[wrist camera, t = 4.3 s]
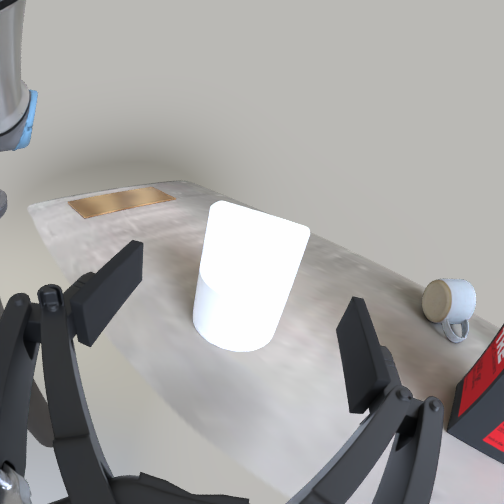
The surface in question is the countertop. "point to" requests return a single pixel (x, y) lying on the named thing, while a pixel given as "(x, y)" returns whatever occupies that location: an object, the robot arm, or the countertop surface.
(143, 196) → the tan rectangular plate
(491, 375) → the cleaning product box
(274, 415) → the countertop surface
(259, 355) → the countertop surface
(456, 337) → the ceramic mug
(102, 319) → the robot arm
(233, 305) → the cylinder with rectangular tab
